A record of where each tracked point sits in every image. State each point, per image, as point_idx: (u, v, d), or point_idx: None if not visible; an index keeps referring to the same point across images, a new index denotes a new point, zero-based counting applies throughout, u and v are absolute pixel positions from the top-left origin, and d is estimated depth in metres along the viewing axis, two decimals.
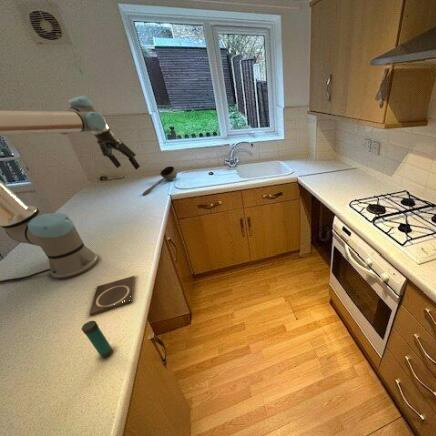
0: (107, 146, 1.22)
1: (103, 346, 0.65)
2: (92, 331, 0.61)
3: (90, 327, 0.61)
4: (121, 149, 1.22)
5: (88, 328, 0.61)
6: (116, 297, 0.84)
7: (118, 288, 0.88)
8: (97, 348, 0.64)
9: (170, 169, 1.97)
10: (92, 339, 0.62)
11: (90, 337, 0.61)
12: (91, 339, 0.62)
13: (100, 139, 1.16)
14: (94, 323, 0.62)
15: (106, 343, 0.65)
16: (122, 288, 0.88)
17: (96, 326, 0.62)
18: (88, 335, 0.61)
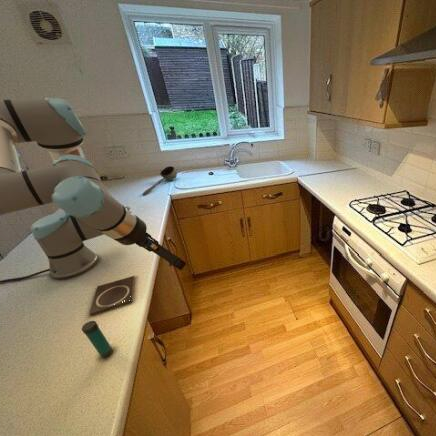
0: None
1: (103, 346, 0.65)
2: (92, 331, 0.61)
3: (90, 327, 0.61)
4: None
5: (88, 328, 0.61)
6: (116, 297, 0.84)
7: (118, 288, 0.88)
8: (97, 348, 0.64)
9: (170, 169, 1.97)
10: (92, 339, 0.62)
11: (90, 337, 0.61)
12: (91, 339, 0.62)
13: None
14: (94, 323, 0.62)
15: (106, 343, 0.65)
16: (122, 288, 0.88)
17: (96, 326, 0.62)
18: (88, 335, 0.61)
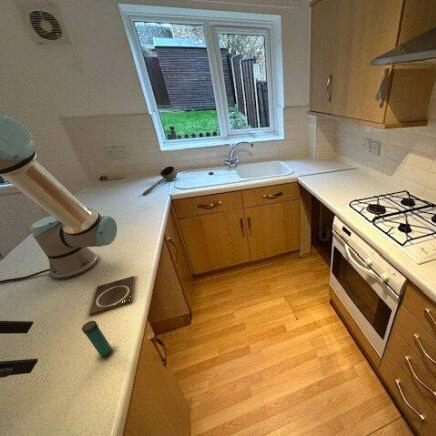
0: None
1: (103, 346, 0.65)
2: (92, 331, 0.61)
3: (90, 327, 0.61)
4: None
5: (88, 328, 0.61)
6: (116, 297, 0.84)
7: (118, 288, 0.88)
8: (97, 348, 0.64)
9: (170, 169, 1.97)
10: (92, 339, 0.62)
11: (90, 337, 0.61)
12: (91, 339, 0.62)
13: None
14: (94, 323, 0.62)
15: (106, 343, 0.65)
16: (122, 288, 0.88)
17: (96, 326, 0.62)
18: (88, 335, 0.61)
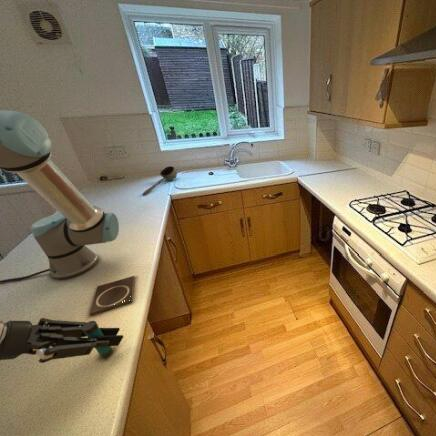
0: None
1: None
2: (92, 331, 0.61)
3: (90, 327, 0.61)
4: None
5: (88, 328, 0.61)
6: (116, 297, 0.84)
7: (118, 288, 0.88)
8: (97, 348, 0.64)
9: (170, 169, 1.97)
10: None
11: (90, 337, 0.61)
12: None
13: None
14: (94, 323, 0.62)
15: None
16: (122, 288, 0.88)
17: (96, 326, 0.62)
18: (88, 335, 0.61)
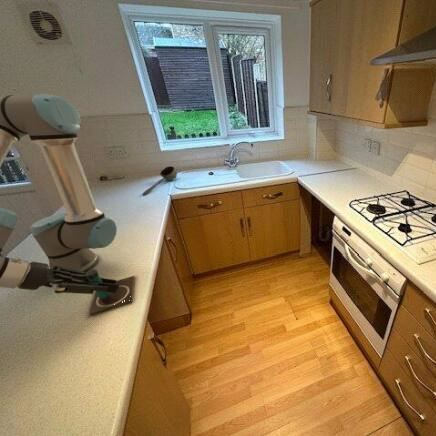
0: None
1: (102, 291, 0.81)
2: (94, 277, 0.77)
3: (92, 273, 0.77)
4: None
5: (90, 274, 0.77)
6: (116, 297, 0.84)
7: (118, 288, 0.88)
8: (97, 292, 0.80)
9: (170, 169, 1.97)
10: None
11: (92, 281, 0.78)
12: None
13: None
14: (95, 271, 0.78)
15: None
16: (122, 288, 0.88)
17: (97, 273, 0.78)
18: (90, 280, 0.77)
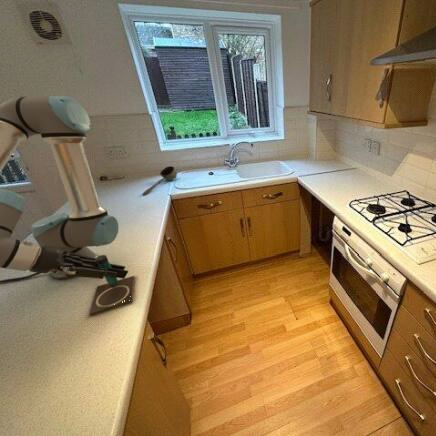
0: None
1: (112, 277, 0.81)
2: (103, 262, 0.77)
3: (102, 258, 0.77)
4: None
5: (100, 259, 0.77)
6: (116, 297, 0.84)
7: (118, 288, 0.88)
8: (107, 278, 0.80)
9: (170, 169, 1.97)
10: None
11: None
12: None
13: None
14: (105, 256, 0.78)
15: None
16: (122, 288, 0.88)
17: (106, 259, 0.78)
18: (100, 265, 0.77)
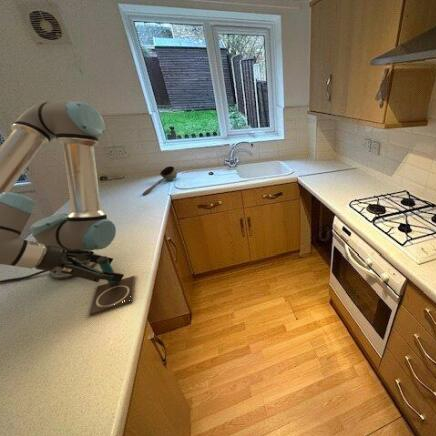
0: None
1: None
2: (104, 262, 0.84)
3: (103, 259, 0.84)
4: None
5: (101, 260, 0.83)
6: (116, 297, 0.84)
7: (118, 288, 0.88)
8: None
9: (170, 169, 1.97)
10: (104, 269, 0.85)
11: (102, 267, 0.84)
12: (103, 269, 0.85)
13: None
14: (106, 257, 0.85)
15: None
16: (122, 288, 0.88)
17: (107, 259, 0.85)
18: (101, 265, 0.84)
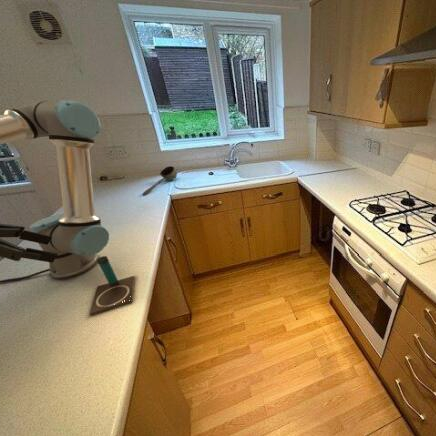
0: None
1: (112, 277, 0.87)
2: (104, 262, 0.84)
3: (103, 259, 0.84)
4: None
5: (101, 260, 0.83)
6: (116, 297, 0.84)
7: (118, 288, 0.88)
8: (107, 277, 0.86)
9: (170, 169, 1.97)
10: (104, 269, 0.85)
11: (102, 267, 0.84)
12: (103, 269, 0.85)
13: None
14: (106, 257, 0.85)
15: (114, 275, 0.88)
16: (122, 288, 0.88)
17: (107, 259, 0.85)
18: (101, 265, 0.84)
